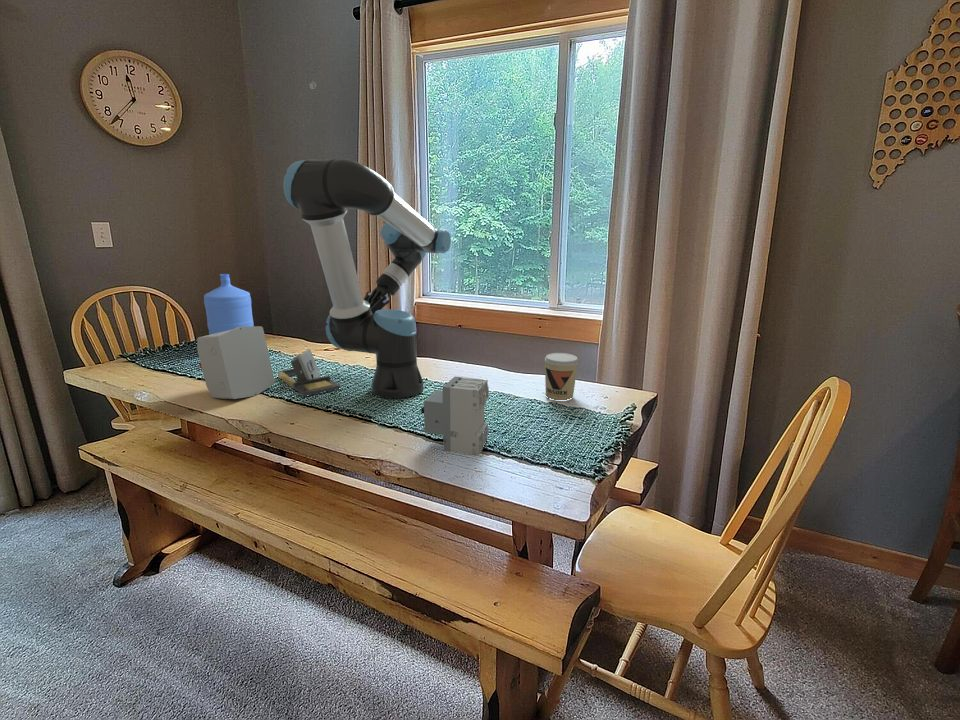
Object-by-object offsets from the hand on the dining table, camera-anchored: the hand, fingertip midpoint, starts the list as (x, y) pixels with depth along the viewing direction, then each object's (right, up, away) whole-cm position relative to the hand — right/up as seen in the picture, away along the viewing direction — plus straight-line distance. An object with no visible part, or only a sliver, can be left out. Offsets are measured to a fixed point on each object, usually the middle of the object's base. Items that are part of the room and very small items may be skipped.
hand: (347, 334), depth 163 cm
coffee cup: (+66, -19, -18) cm, 71 cm away
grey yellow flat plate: (-10, -15, -9) cm, 20 cm away
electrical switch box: (-28, -17, -16) cm, 37 cm away
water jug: (-51, -4, +28) cm, 58 cm away
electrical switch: (-11, -15, -7) cm, 20 cm away
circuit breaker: (+37, -28, -48) cm, 67 cm away
